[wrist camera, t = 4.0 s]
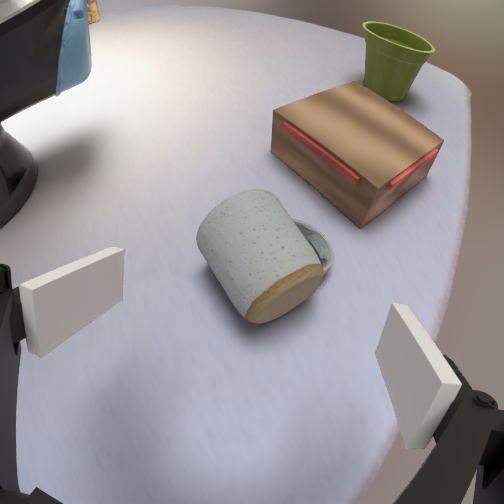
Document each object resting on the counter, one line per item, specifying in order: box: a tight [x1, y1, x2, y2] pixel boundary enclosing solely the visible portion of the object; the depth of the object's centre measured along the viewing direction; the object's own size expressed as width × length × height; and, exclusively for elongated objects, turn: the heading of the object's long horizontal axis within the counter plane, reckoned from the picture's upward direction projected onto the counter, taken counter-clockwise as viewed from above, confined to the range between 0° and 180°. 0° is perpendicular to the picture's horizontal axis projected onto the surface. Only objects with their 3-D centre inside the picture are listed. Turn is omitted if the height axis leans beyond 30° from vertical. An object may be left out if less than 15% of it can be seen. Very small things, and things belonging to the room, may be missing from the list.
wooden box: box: [271, 81, 444, 229], centre depth 34 cm, size 14×14×6 cm
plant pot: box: [362, 22, 435, 101], centre depth 42 cm, size 12×12×11 cm
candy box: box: [87, 0, 100, 24], centre depth 70 cm, size 9×4×15 cm, turn 110°
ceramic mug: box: [196, 190, 334, 324], centre depth 25 cm, size 11×8×8 cm
